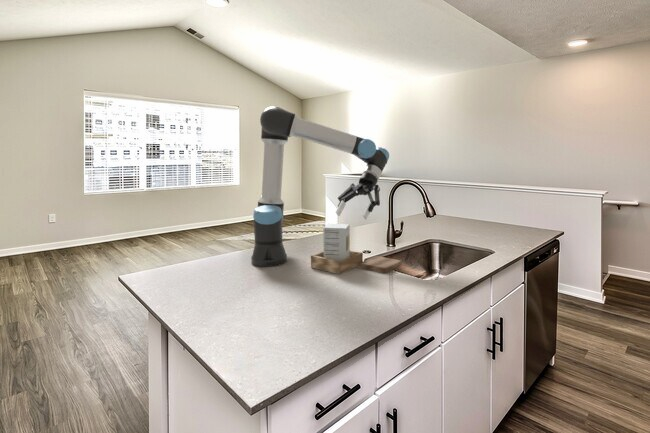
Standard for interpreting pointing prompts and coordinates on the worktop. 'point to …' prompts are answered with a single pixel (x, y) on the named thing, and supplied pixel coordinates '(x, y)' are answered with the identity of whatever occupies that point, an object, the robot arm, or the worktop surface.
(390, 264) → the walnut board
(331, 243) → the supplement box
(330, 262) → the wooden tray
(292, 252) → the worktop surface
